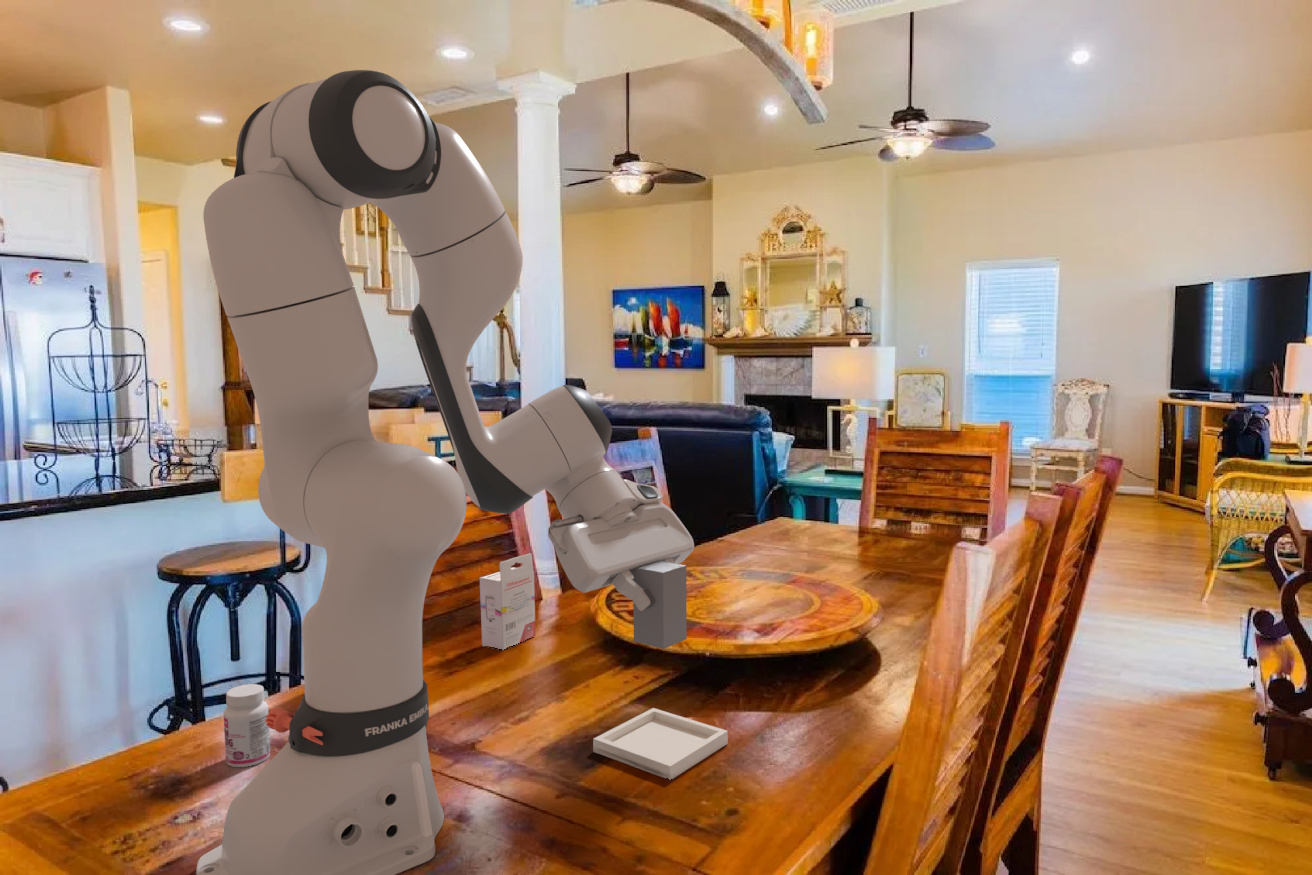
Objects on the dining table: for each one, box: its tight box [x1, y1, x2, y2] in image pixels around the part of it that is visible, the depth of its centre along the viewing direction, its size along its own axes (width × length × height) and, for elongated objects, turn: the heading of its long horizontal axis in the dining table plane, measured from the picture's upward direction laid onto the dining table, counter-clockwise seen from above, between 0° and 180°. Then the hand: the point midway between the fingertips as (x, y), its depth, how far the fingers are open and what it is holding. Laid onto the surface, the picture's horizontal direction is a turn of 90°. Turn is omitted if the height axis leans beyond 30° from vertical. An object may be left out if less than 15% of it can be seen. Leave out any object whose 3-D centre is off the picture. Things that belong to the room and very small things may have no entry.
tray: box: [592, 707, 729, 781], centre depth 102 cm, size 12×12×2 cm
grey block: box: [632, 561, 688, 650], centre depth 101 cm, size 4×4×9 cm
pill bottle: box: [223, 683, 271, 768], centre depth 100 cm, size 5×5×8 cm
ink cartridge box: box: [479, 552, 536, 651], centre depth 142 cm, size 9×5×15 cm, turn 149°
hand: (664, 601), depth 100 cm, fingers closed on grey block, 4 cm apart
